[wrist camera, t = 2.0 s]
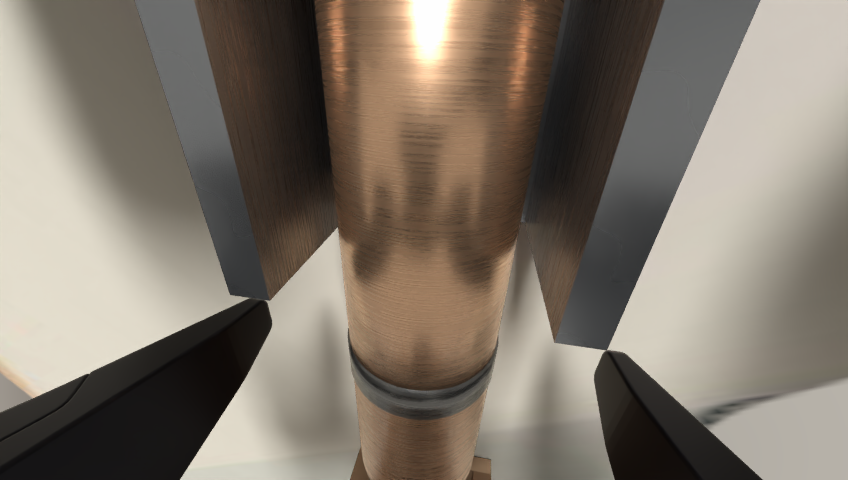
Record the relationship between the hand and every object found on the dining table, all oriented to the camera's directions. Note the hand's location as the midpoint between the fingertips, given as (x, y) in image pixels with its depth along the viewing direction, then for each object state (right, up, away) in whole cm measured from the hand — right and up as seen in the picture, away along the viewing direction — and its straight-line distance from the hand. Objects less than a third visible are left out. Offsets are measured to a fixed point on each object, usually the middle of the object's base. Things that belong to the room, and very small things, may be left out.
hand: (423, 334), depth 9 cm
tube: (0, +5, 0) cm, 5 cm away
